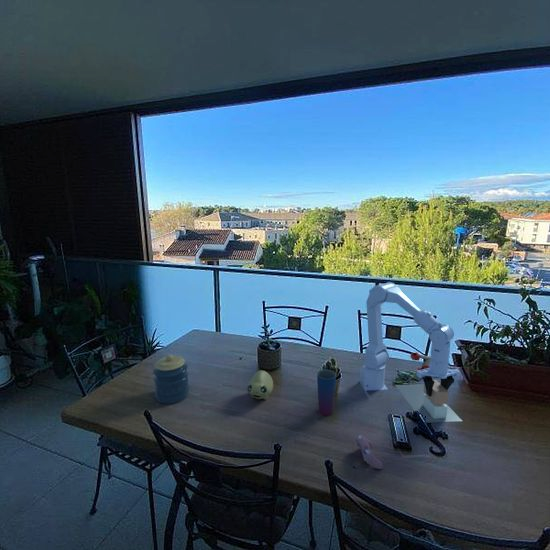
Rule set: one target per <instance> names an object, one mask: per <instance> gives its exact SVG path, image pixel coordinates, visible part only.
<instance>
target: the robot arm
mask: <svg viewBox="0 0 550 550" xmlns="http://www.w3.org/2000/svg"><path fill="white" fill-rule="evenodd" d="M368 292H369V293H368V297H367V299H366V303H365V304H366V314H367V315H366V316H367V317H366V318H367V332H368V345H367V346H366V349H365V351H364V352H365V354H364V357H363V362H364V365H361V366H360V373H359V383H360V385H361V386H362V387H361V388H363V390H364V391H365V392H367V391H382V390H383V391H387V390H388V387H387V386H386V384H385V375H386V365H387V362H388V361H389V359H390V354H389V351H388V348H387V345H386V344H384V340H383V338H384V336H383V323H382V320H383V319H382V308H381V307H382V305H383V304H385V303H391V304H396V305H398V306H399V307H400V308H402V309H403V310H405V312H407V314H409V315H410V316H412V317H413V322H414V323H415V324H417V326H418V327H419V328H420V329H422V330H423V331H424V332H425V333H426V335H427V334H428V336H429V337H428V338H429V340H430V342H431V348H430V356H429V357H430V364H429V365H428V366H429V368H427V369H423V370H418V369H417V370H416V375H415V376H416V377H417V378H418V379H422V380H423V384H425V387H426V394H427V395H428V396H429V397H430V396H431V395H432V388H433V385H434V383H435V382H434V381H433V380H434V379H433V378H432V377H435V378H440V384H441V385H442V386H443V387H444V388H445V389H446V390H447V391H448V390H449V389H450V387H451V386H452V384H454V383H455V378H454V377H457V378H459V377H460V373H461V371H460V370H458V369H457V368H449V360H450V350H451V341H452V340H453V339H454V336H455V333H454V330H453V328H452V327H451V326H450V325H449V324H446V323H445V324H444V323H443V322H441V321H439V320H438V319H436V318H435V317H434V316H433V313H432V312H431V311H428V310H424V309H423V310H422V309H420V308H419V307H418V306H417V305H416V304H415V303H414V302H413V301H412V300H411V299H409V297H407V296H406V294H404V293H403V292H402V290H401V288H400V287H399V286H397V285H396V284H395V283H394V282H393V281H392V282H391V281H388V282H386V283H382V284H379V285H374V286H373V287H372V288H371V289H369V291H368Z"/></svg>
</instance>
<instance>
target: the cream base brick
mask: <svg viewBox="0 0 550 550" xmlns="http://www.w3.org/2000/svg"><path fill="white" fill-rule="evenodd" d="M422 405H423V406H424V407H425V409H426V410H427V411H428V412H429V413H430V415H431V416H432V417H433V418H446V415H447V405H448V404H447V405H446V404H434V403H433V402H432V401H431V399H430V398H429V397H428V396H427V395H426V394H423V404H422Z"/></svg>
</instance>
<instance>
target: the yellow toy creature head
mask: <svg viewBox="0 0 550 550" xmlns="http://www.w3.org/2000/svg"><path fill="white" fill-rule="evenodd" d="M273 389H274V380H273V378H272V376H271V374H269V372H267V371H265V370H262V369H261V370H258V371H256V372H255V373H254V374H253V376H252V377H251V378H250V380H249V382H248V385H247V392H248V394H249V395H250V396H251V398H252V399H254V398H255V399H257V400H262V399H264V400H265V401H267V400H268V398H269V396H270V395H271V393H272V392H273Z"/></svg>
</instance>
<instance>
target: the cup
mask: <svg viewBox="0 0 550 550" xmlns="http://www.w3.org/2000/svg"><path fill="white" fill-rule="evenodd" d="M316 378H317V379H316V381H317V405H318V413H319V414H320V415H322V416H325V417H329V416H332V414H333V412H334V411H333V410H334V401H335V391H336V390H335V389H336V383H337V373H336V372H335V371H333V370H331V369H320V370H318V371H317V373H316Z"/></svg>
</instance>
